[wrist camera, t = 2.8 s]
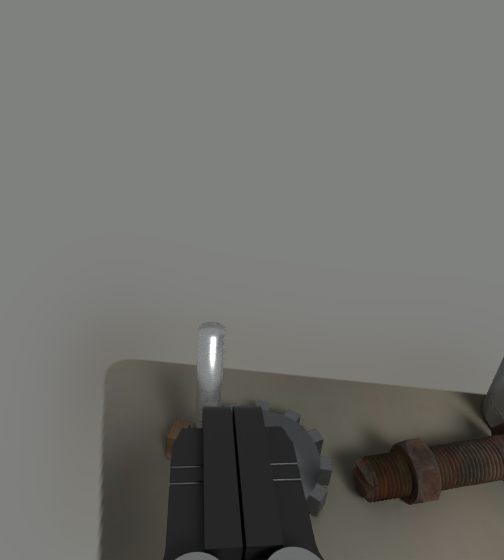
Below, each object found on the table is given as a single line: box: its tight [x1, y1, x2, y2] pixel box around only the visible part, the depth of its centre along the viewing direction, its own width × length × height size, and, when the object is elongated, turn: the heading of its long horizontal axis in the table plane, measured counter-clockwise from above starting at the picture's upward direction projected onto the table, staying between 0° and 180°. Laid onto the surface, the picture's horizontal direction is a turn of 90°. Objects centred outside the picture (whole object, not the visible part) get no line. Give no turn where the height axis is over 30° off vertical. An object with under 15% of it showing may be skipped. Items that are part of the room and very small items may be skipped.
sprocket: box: [195, 322, 332, 517], centre depth 32 cm, size 11×11×15 cm
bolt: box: [353, 423, 504, 505], centre depth 35 cm, size 6×5×15 cm
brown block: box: [166, 418, 190, 460], centre depth 36 cm, size 1×2×2 cm, turn 166°
